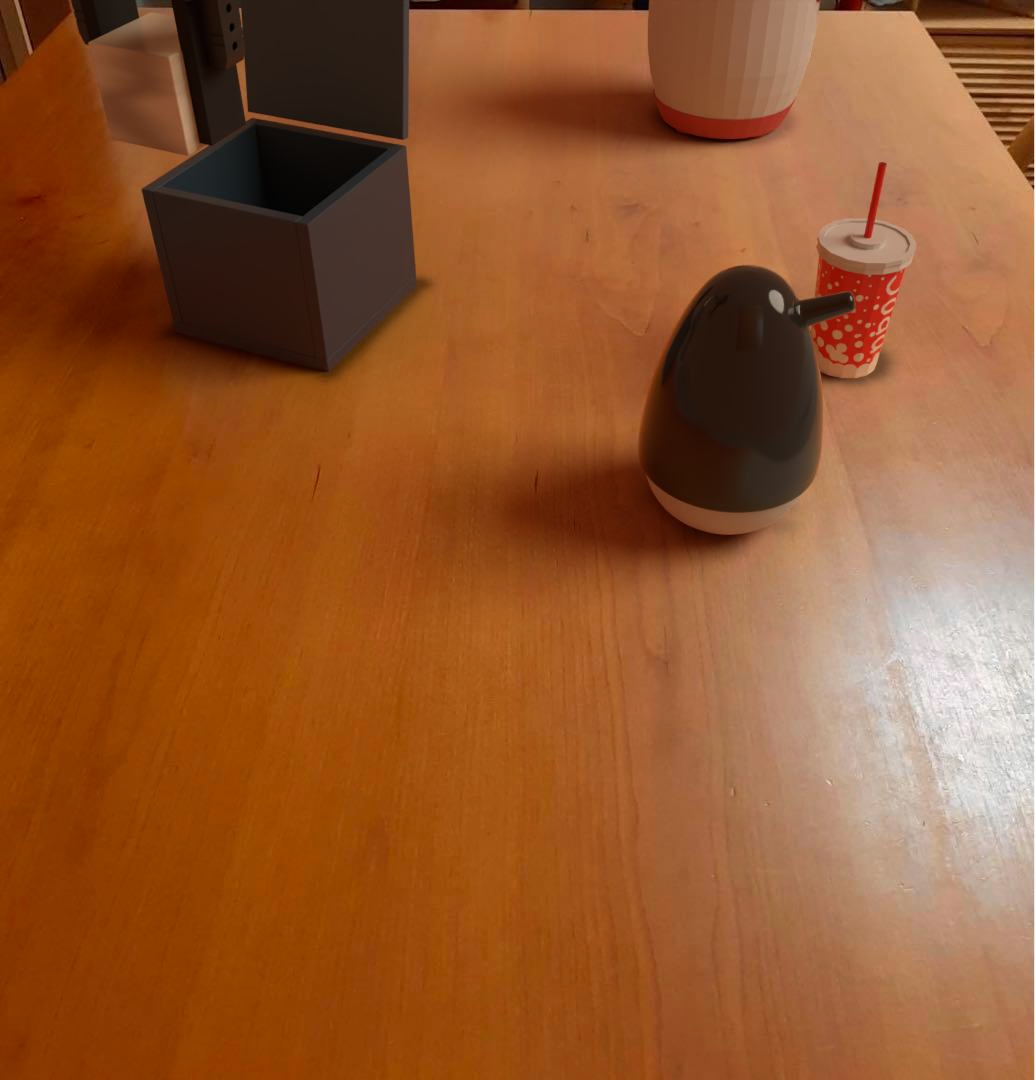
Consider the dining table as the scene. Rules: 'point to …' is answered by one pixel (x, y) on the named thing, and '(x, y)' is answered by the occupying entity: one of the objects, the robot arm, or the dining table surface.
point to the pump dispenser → (737, 403)
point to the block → (146, 85)
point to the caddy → (285, 240)
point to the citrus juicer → (729, 62)
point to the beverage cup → (859, 287)
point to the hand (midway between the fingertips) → (177, 123)
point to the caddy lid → (329, 62)
